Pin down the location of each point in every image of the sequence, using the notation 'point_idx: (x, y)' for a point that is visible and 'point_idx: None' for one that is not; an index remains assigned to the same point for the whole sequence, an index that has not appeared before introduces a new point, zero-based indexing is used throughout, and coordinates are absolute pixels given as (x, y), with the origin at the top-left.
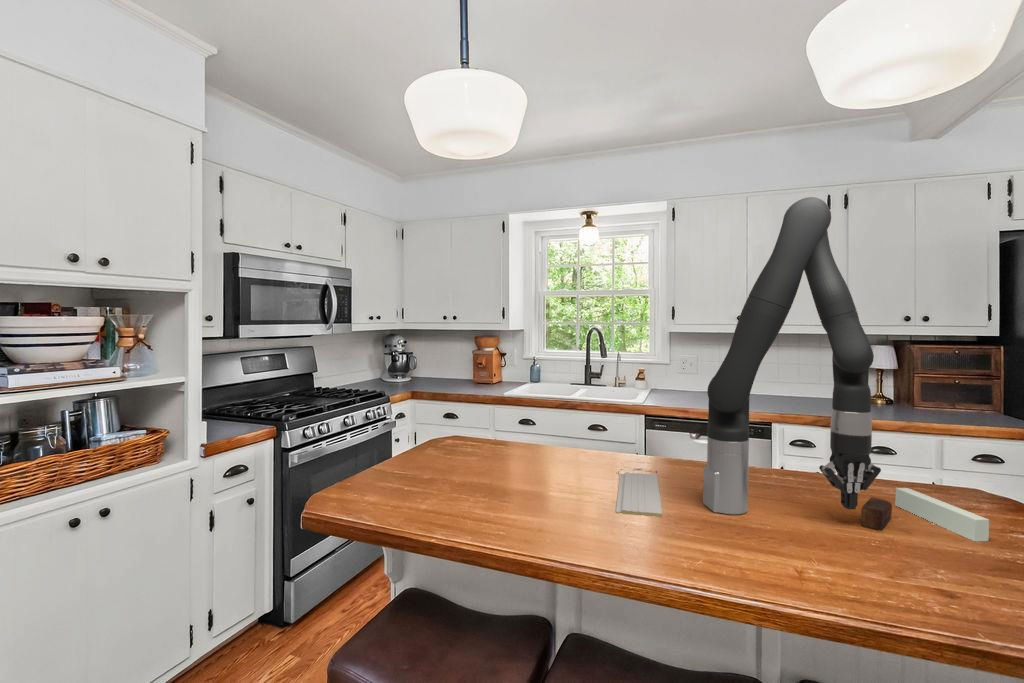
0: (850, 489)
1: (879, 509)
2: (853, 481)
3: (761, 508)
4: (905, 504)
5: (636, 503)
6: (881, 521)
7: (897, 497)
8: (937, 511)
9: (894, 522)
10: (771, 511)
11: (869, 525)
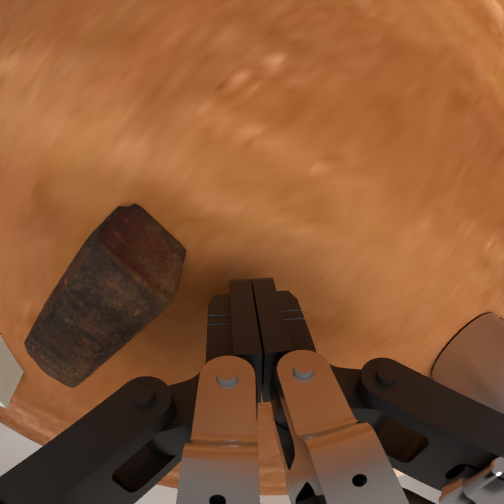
0: (299, 377)
1: (95, 256)
2: (307, 447)
3: (406, 364)
4: (1, 360)
5: None
6: (116, 211)
7: (11, 386)
8: None
9: (46, 282)
10: (401, 351)
11: (161, 232)
